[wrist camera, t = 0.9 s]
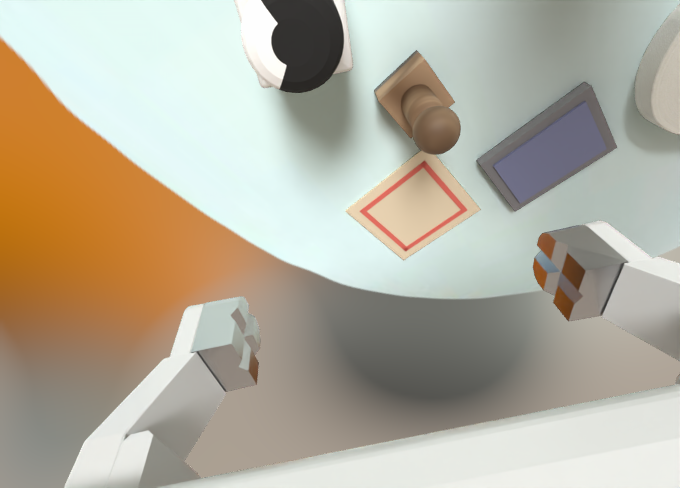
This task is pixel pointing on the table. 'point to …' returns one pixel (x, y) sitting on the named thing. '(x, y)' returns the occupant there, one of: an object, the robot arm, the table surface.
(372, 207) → the tan card
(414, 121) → the walnut stamp
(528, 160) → the ink pad
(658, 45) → the roll of tape
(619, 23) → the table surface
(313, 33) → the medicine bottle
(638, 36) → the table surface
